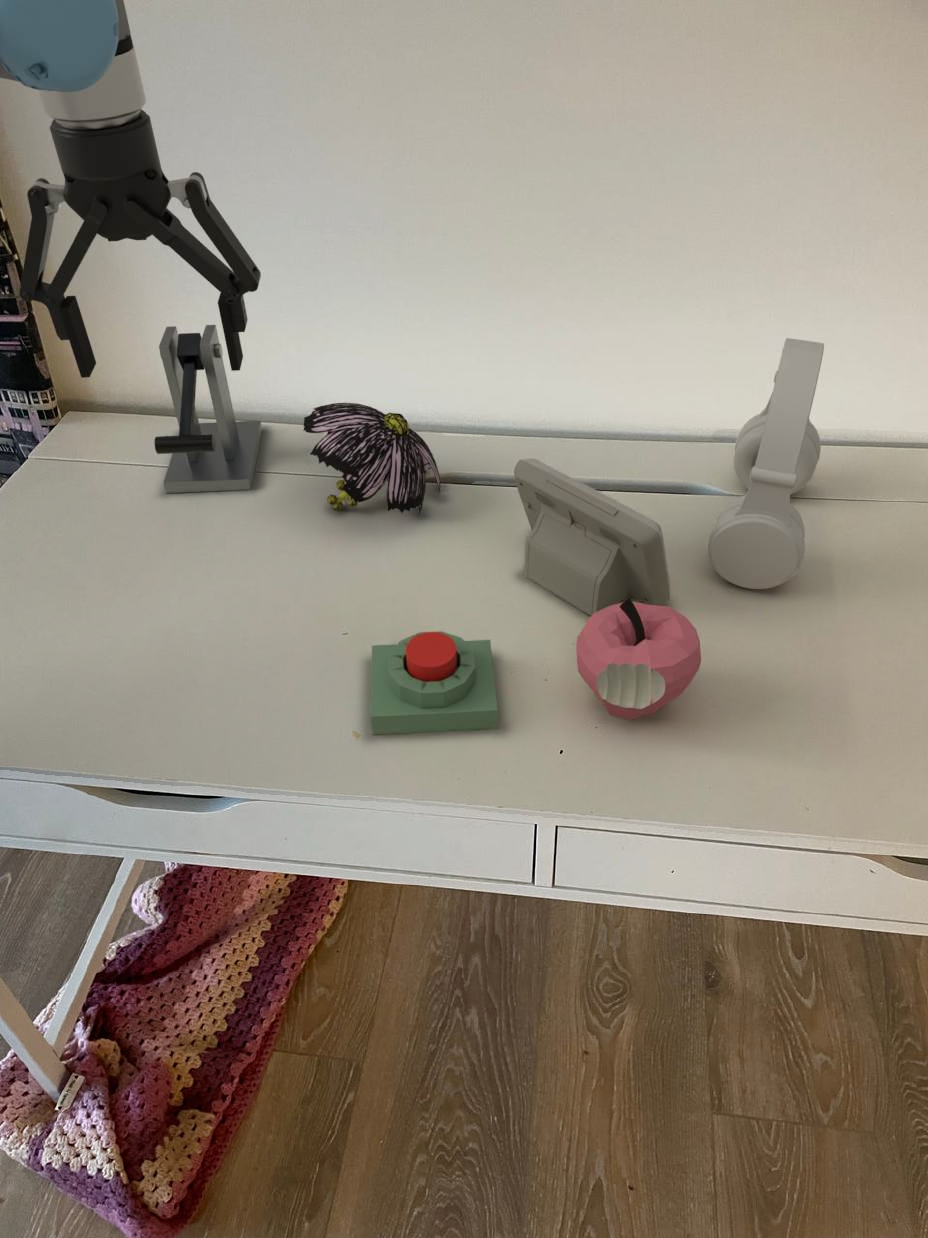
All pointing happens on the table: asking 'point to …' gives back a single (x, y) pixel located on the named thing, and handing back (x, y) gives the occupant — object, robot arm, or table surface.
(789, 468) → the headphones
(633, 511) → the digital clock
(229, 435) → the bracket
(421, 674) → the button
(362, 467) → the decorative flower
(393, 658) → the button box
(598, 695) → the apple
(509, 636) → the table surface
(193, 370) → the lever
